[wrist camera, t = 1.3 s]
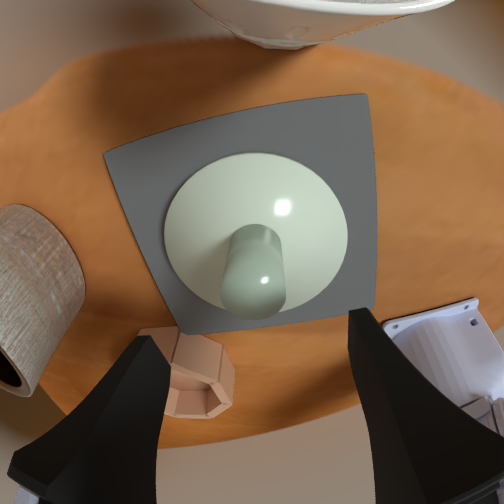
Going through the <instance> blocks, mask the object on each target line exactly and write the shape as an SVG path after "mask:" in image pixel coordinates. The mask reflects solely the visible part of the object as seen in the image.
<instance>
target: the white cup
mask: <svg viewBox="0 0 504 504" xmlns="http://www.w3.org/2000/svg"><path fill="white" fill-rule="evenodd" d="M191 1H192V2H193V3H194V4H196V5H197V6H198V7H199V8H201V9H202V10H203V11H204V12H206V13H207V14H208V15H210V16H211V17H212V18H213V19H215V20H216V21H217V22H218V23H219V24H221V25H222V26H224V27H225V28H227V29H229V30H230V31H231V32H232V33H233V34H234V35H235V36H236V37H239V38H241V39H244V40H246V41H249V42H251V43H253V44H256V45H258V46H260V47H263V48H266V49H289V50H298V49H301V48H304V47H307V46H310V45H315V44H321V43H325V42H328V41H331V40H335V39H337V38H340V37H343V36H346V35H349V34H352V33H355V32H357V31H360V30H363V29H366V28H368V27H371V26H374V25H377V24H380V23H383V22H387V21H390V20H393V19H397V18H400V17H404V16H408V15H412V14H416V13H420V12H425V11H429V10H433V9H436V8H439V7H442V6H444V5H447V4H449V3H451V2H453V1H454V0H191Z"/></svg>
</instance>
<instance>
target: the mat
mask: <svg viewBox="0 0 504 504" xmlns="http://www.w3.org/2000/svg"><path fill="white" fill-rule="evenodd" d="M247 151H263V152H271V153H276V154H280V155H284V156H287V157H290V158H292V159H295V160H297V161H299V162H301V163H303V164H304V165H306V166H308V167H309V168H311V169H312V170H313V171H315V172H316V173H317V174H318V175H319V176H320V177H321V178H322V179H323V180H324V181H325V182H326V183H327V184H328V185H329V187H330V188H331V190H332V191H333V193H334V194H335V196H336V198H337V199H338V201H339V203H340V205H341V207H342V210H343V212H344V216H345V219H346V224H347V231H348V236H347V248H346V253H345V256H344V259H343V262H342V264H341V266H340V269H339V271H338V272H337V274H336V275H335V277H334V278H333V280H332V281H331V282H330V283H329V284H328V286H327V287H326V288H325V289H323V290H322V291H321V292H320V293H319V294H318V295H316V296H315V297H314V298H312V299H311V300H309V301H307V302H305V303H304V304H302V305H299V306H297V307H295V308H292V309H289V310H286V311H282V312H277V313H276V314H275V315H273V316H271V317H269V318H265V319H261V320H247V319H242V318H239V317H237V316H235V315H233V314H231V313H230V312H229V311H228V310H225V309H222V308H219V307H217V306H215V305H212V304H211V303H209V302H207V301H205V300H203V299H202V298H200V297H199V296H198V295H196V294H195V293H194V292H192V291H191V290H190V289H189V288H188V287H187V286H186V285H185V284H184V283H183V282H182V280H181V279H180V278H179V276H178V275H177V274H176V272H175V271H174V269H173V267H172V265H171V263H170V260H169V258H168V255H167V251H166V246H165V238H164V229H165V221H166V217H167V213H168V210H169V208H170V205H171V203H172V201H173V199H174V197H175V196H176V194H177V193H178V191H179V190H180V188H181V187H182V186H183V184H184V183H185V182H186V181H187V180H188V179H189V178H190V176H192V175H193V174H194V173H195V172H196V171H197V170H199V169H200V168H202V167H203V166H205V165H206V164H208V163H209V162H212V161H214V160H216V159H218V158H220V157H223V156H227V155H230V154H234V153H240V152H247ZM103 155H104V158H105V161H106V164H107V167H108V170H109V173H110V175H111V178H112V181H113V183H114V186H115V189H116V191H117V194H118V197H119V199H120V202H121V204H122V207H123V209H124V212H125V214H126V217H127V219H128V222H129V224H130V226H131V229H132V231H133V233H134V236H135V238H136V240H137V243H138V245H139V247H140V249H141V252H142V254H143V256H144V258H145V261H146V263H147V265H148V267H149V269H150V271H151V273H152V276H153V278H154V280H155V282H156V284H157V286H158V288H159V290H160V292H161V294H162V296H163V298H164V300H165V302H166V304H167V306H168V308H169V310H170V312H171V314H172V316H173V317H174V319H175V321H176V323H177V325H178V327H179V329H180V331H181V332H182V333H184V334H186V335H198V334H209V333H220V332H229V331H239V330H247V329H256V328H264V327H271V326H279V325H286V324H292V323H299V322H306V321H312V320H318V319H324V318H330V317H335V316H341V315H346V314H349V310H354V309H359V308H364V307H366V308H368V309H369V310H372V309H374V301H375V286H376V265H377V193H376V173H375V158H374V146H373V136H372V126H371V118H370V110H369V103H368V96H367V94H350V95H338V96H328V97H319V98H311V99H303V100H296V101H290V102H283V103H277V104H272V105H266V106H261V107H255V108H250V109H246V110H241V111H236V112H232V113H228V114H223V115H219V116H215V117H211V118H207V119H203V120H199V121H196V122H192V123H189V124H185V125H182V126H178V127H175V128H172V129H168V130H165V131H162V132H159V133H156V134H153V135H150V136H147V137H144V138H141V139H138V140H135V141H132V142H130V143H127V144H124V145H121V146H119V147H116V148H114V149H111V150H109V151H106V152H105V153H103Z"/></svg>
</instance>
